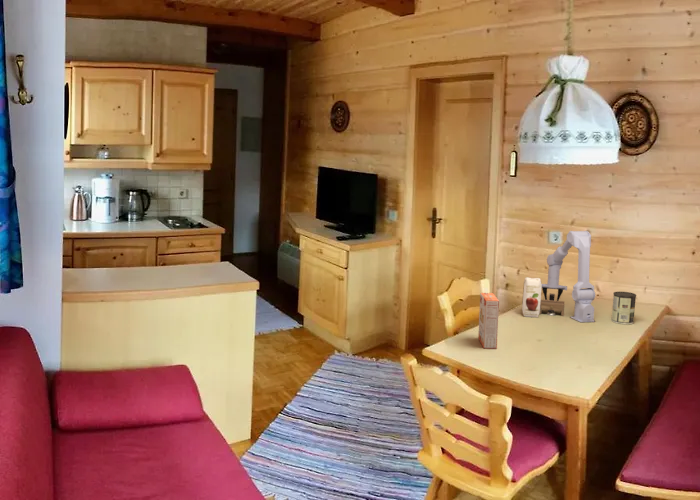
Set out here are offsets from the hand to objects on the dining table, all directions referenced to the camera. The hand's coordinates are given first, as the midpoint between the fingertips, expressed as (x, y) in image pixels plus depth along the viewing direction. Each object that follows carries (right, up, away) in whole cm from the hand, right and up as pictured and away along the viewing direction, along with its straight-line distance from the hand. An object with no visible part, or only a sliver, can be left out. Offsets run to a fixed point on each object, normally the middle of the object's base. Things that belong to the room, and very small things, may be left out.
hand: (551, 302), depth 354 cm
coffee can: (+26, -8, -29) cm, 39 cm away
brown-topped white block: (-2, -3, -7) cm, 8 cm away
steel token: (-6, -5, -19) cm, 20 cm away
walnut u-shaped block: (-5, -4, -16) cm, 18 cm away
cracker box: (-49, -12, -71) cm, 87 cm away
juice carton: (-17, -5, -22) cm, 28 cm away
